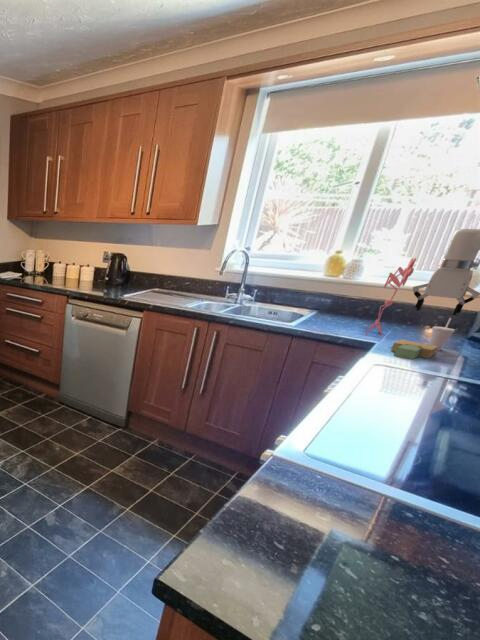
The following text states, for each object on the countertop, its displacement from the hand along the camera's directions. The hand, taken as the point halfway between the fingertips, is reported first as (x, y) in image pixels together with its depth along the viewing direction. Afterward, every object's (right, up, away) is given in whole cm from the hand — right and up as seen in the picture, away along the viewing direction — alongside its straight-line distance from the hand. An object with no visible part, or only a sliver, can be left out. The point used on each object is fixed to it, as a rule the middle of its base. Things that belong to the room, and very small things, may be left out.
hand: (435, 312), depth 158 cm
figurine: (+20, -4, +40) cm, 45 cm away
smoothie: (+17, -13, +17) cm, 27 cm away
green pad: (-3, -16, +8) cm, 18 cm away
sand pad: (+4, -14, +13) cm, 19 cm away
